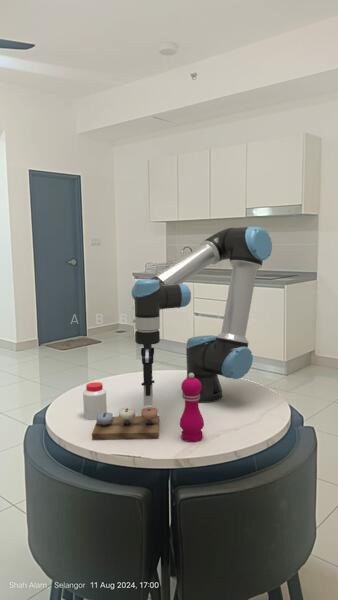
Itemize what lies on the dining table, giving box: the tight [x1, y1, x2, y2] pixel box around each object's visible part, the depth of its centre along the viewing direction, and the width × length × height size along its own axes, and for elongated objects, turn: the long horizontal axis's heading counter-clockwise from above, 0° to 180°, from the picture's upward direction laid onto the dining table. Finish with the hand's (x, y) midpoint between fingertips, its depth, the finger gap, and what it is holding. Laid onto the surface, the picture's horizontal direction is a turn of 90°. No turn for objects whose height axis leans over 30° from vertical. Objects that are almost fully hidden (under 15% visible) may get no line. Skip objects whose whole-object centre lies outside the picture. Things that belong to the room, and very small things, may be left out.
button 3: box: [96, 411, 114, 426], centre depth 152 cm, size 5×5×4 cm
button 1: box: [140, 406, 158, 424], centre depth 152 cm, size 5×5×4 cm
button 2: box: [118, 407, 136, 424], centre depth 152 cm, size 5×5×4 cm
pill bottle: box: [82, 381, 108, 421], centre depth 165 cm, size 8×8×11 cm
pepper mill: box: [179, 373, 205, 443], centre depth 145 cm, size 7×7×20 cm
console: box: [91, 415, 160, 441], centre depth 152 cm, size 20×14×2 cm
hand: (148, 404), depth 151 cm, fingers closed
